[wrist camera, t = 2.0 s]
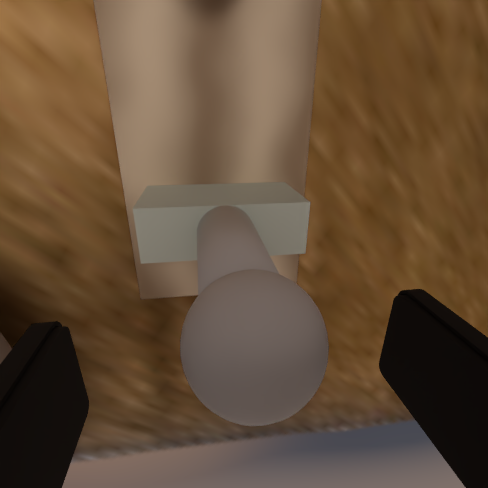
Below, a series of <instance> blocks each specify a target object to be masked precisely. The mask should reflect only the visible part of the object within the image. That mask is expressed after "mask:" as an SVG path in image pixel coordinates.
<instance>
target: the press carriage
mask: <svg viewBox="0 0 488 488" xmlns="http://www.w3.org/2000/svg"><path fill="white" fill-rule="evenodd" d="M309 212H310V201H308V200H307V199H306V198H304V197H303V196H302V195H301V194H299V193H298V192H297V191H296V190H294V189H293V188H292V187H290V186H289V185H288V184H287V183H285V182H266V183H229V184H192V185H155V186H147V187H146V189H145V190H144V192H143V193H142V195H141V196H140V198H139V200H138V201H137V203H136V204H135V206H134V207H133V214H134V221H135V228H136V234H137V241H138V248H139V254H140V261H141V264H144V263H161V262H177V261H193V260H197V262H198V297H197V298H196V300H195V301H194V303H193V304H192V305H191V307H190V309H189V311H188V313H187V315H186V318H185V321H184V324H183V327H182V333H181V340H180V354H181V361H182V366H183V370H184V373H185V376H186V378H187V381H188V383H189V385H190V387H191V388H192V390H193V392H194V393H195V395H196V396H197V397H198V399H199V400H200V401H201V402H202V403H203V404H204V405H205V406H206V407H207V408H208V409H210V410H211V411H212V412H214V413H215V414H217V415H218V416H220V417H222V418H223V419H226V420H228V421H231V422H234V423H237V424H241V425H247V426H262V425H269V424H273V423H277V422H279V421H282V420H284V419H286V418H289V417H290V416H292V415H294V414H295V413H297V412H298V411H299V410H301V409H302V408H303V407H304V406H305V405H306V404H307V403H308V402H309V400H310V399H311V398H312V397H313V396H314V394H315V393H316V391H317V389H318V388H319V386H320V384H321V382H322V379H323V377H324V374H325V370H326V367H327V362H328V350H329V346H328V336H327V330H326V327H325V323H324V320H323V318H322V315H321V313H320V311H319V309H318V307H317V306H316V304H315V303H314V301H313V300H312V299H311V297H310V296H309V295H308V294H307V293H306V292H305V291H304V290H303V289H302V288H301V287H300V286H299V285H297V284H296V283H295V282H293V281H292V280H290V279H288V278H286V277H284V276H282V275H280V274H279V272H278V270H277V268H276V267H275V265H274V263H273V261H272V259H271V257H270V256H274V255H290V254H305V253H306V242H307V232H308V222H309Z"/></svg>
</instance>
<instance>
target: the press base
mask: <svg viewBox="0 0 488 488" xmlns="http://www.w3.org/2000/svg"><path fill="white" fill-rule="evenodd" d="M93 1H94V7H95V13H96V19H97V26H98V32H99V38H100V45H101V51H102V57H103V64H104V70H105V76H106V83H107V89H108V95H109V102H110V108H111V114H112V121H113V127H114V133H115V140H116V146H117V152H118V159H119V165H120V171H121V178H122V184H123V190H124V197H125V203H126V209H127V216H128V222H129V228H130V235H131V241H132V247H133V253H134V260H135V266H136V272H137V279H138V285H139V291H140V298H141V299H154V298H167V297H180V296H193V295H198V262H197V260H193V261H177V262H161V263H144V264H141V261H140V254H139V248H138V241H137V234H136V228H135V221H134V214H133V207H134V206H135V204H136V203H137V201H138V200H139V198H140V196H141V195H142V193H143V192H144V190H145V189H146V187H147V186H155V185H192V184H229V183H266V182H285V183H287V184H288V185H289V186H290V187H292V188H293V189H294V190H296V191H297V192H298V193H299V194H301V195H302V196H303V197H304V194H305V183H306V172H307V161H308V149H309V138H310V127H311V115H312V104H313V93H314V82H315V70H316V59H317V48H318V36H319V25H320V14H321V2H322V0H93ZM270 257H271V259H272V261H273V263H274V265H275V267H276V268H277V270H278V272H279V274H280V275H282V276H284V277H286V278H288V279H290V280H292V281H293V282H295V283H296V284H297V274H298V262H299V254H290V255H274V256H270Z"/></svg>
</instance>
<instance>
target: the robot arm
mask: <svg viewBox="0 0 488 488" xmlns="http://www.w3.org/2000/svg"><path fill="white" fill-rule="evenodd" d="M379 368H380V371H381V373H382V375H383V377H384V378H385V379H386V381H387V382H388V383H389V385H390V386H391V387H392V389H393V390H394V391H395V393H396V394H397V396H398V397H399V398H400V400H401V401H402V402H403V404H404V405H405V406H406V408H407V409H408V410H409V412H410V413H411V414H412V416H413V417H414V418H415V420H416V421H417V422H418V424H419V425H420V427H421V428H422V429H423V430H424V432H425V433H426V435H427V436H428V437H429V439H430V440H431V441H432V443H433V444H434V445H435V447H436V448H437V450H438V451H439V452H440V454H441V455H442V456H443V458H444V459H445V460H446V462H447V463H448V464H449V466H450V467H451V468H452V470H453V471H454V472H455V474H456V475H457V477H458V478H459V479H460V480H461V481H462V483H463V485H464V486H465V487H466V488H488V337H486V336H485V335H484V334H482V333H481V332H479V331H478V330H477V329H475V328H474V327H473V326H471V325H470V324H469V323H467V322H466V321H465V320H463V319H462V318H461V317H459V316H458V315H457V314H455V313H454V312H453V311H451V310H450V309H449V308H447V307H446V306H444V305H443V304H442V303H440V302H439V301H438V300H436V299H435V298H434V297H432V296H431V295H430V294H428V293H427V292H426V291H424V290H422V289H413V290H403V291H400V293H399V294H398V296H396V297H395V298H394V301H393V305H392V309H391V314H390V318H389V322H388V327H387V331H386V335H385V340H384V344H383V348H382V353H381V357H380V361H379ZM88 409H89V400H88V396H87V393H86V389H85V385H84V382H83V378H82V374H81V371H80V367H79V363H78V360H77V356H76V352H75V349H74V345H73V342H72V338H71V334H70V331H69V328H68V327H66V326H63V327H62V325H61V323H60V322H57V321H56V322H45V323H34V324H32V325H31V326H30V327H29V328H28V329H27V330H26V332H25V333H24V334H23V335H22V337H21V338H20V339H19V341H18V342H17V343H16V345H15V346H14V347H13V348H12V350H11V351H10V352H9V354H8V355H7V356H6V357H5V359H4V360H3V361H2V363H1V364H0V488H62V485H63V483H64V480H65V477H66V474H67V471H68V468H69V465H70V463H71V460H72V457H73V454H74V451H75V448H76V446H77V443H78V440H79V437H80V434H81V431H82V428H83V426H84V423H85V420H86V417H87V414H88Z"/></svg>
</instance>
